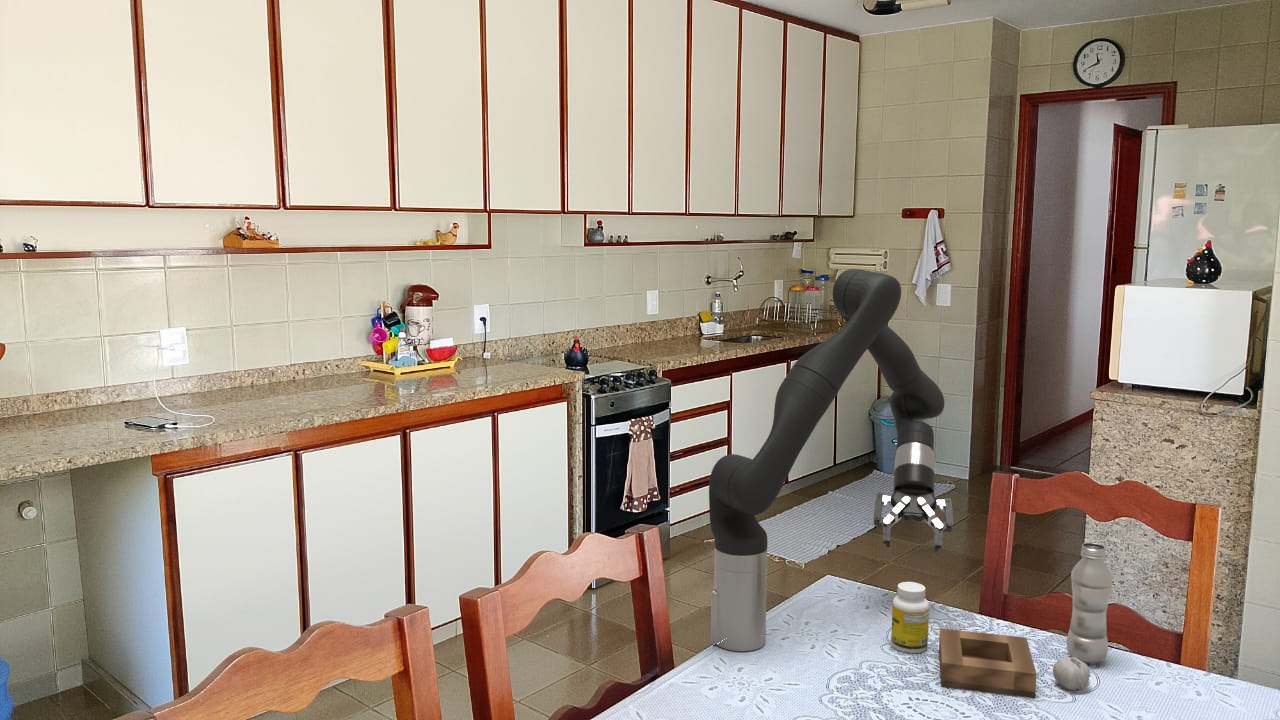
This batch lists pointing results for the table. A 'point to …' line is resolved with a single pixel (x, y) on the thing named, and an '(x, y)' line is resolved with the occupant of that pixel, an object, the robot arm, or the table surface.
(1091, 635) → the plastic bottle
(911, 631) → the pill bottle
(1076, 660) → the garlic
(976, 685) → the wooden square tray
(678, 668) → the table surface
